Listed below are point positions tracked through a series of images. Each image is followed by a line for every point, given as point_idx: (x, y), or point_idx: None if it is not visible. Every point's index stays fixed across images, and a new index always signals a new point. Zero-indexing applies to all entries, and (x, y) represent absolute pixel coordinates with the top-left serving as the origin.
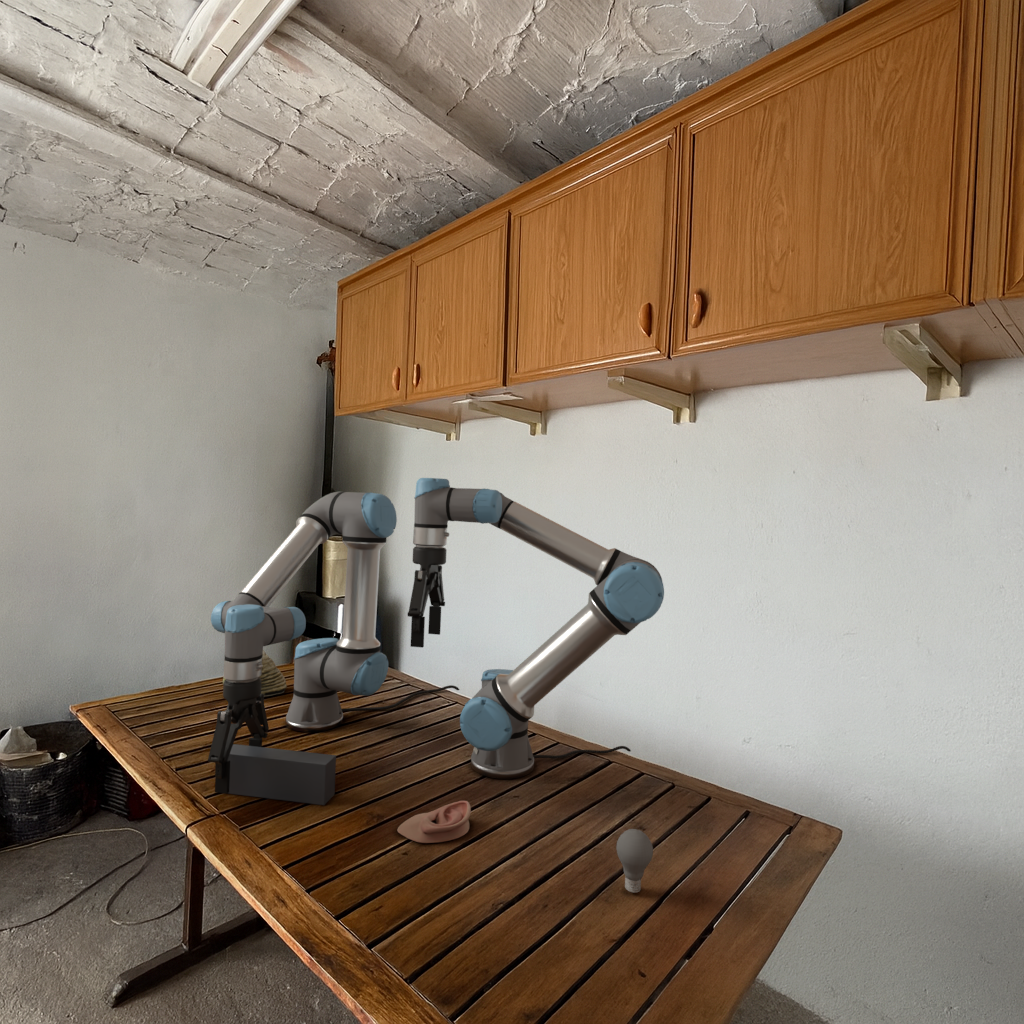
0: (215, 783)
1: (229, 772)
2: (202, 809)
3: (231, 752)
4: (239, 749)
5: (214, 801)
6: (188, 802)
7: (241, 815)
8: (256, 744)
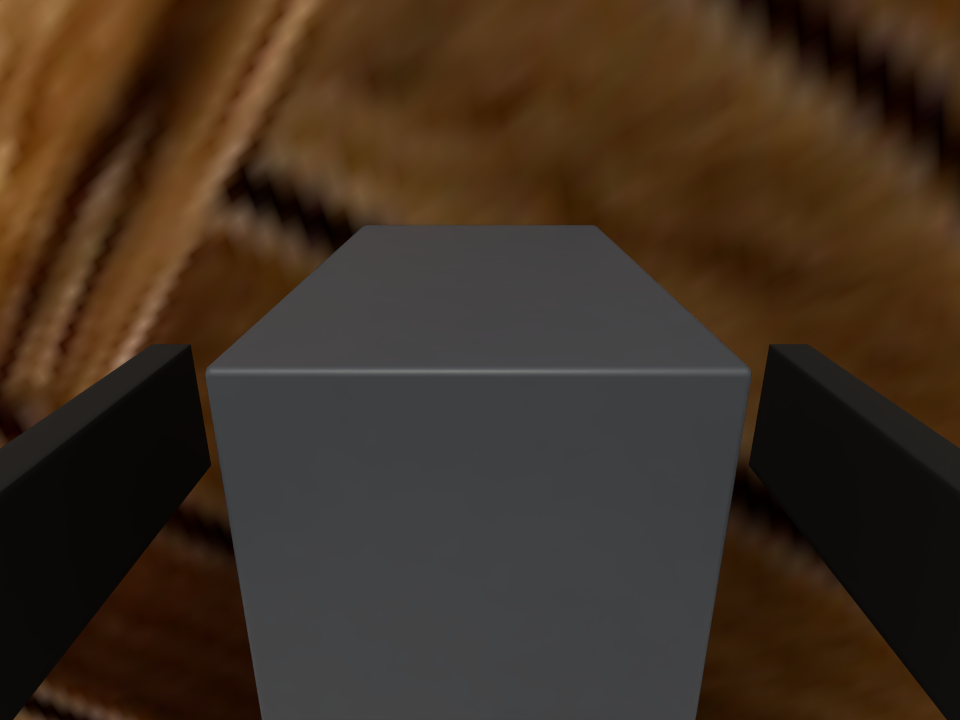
0: (100, 384)
1: (94, 603)
2: (49, 295)
3: (310, 589)
4: (485, 642)
5: (207, 306)
6: (91, 79)
7: (112, 604)
8: (932, 620)
